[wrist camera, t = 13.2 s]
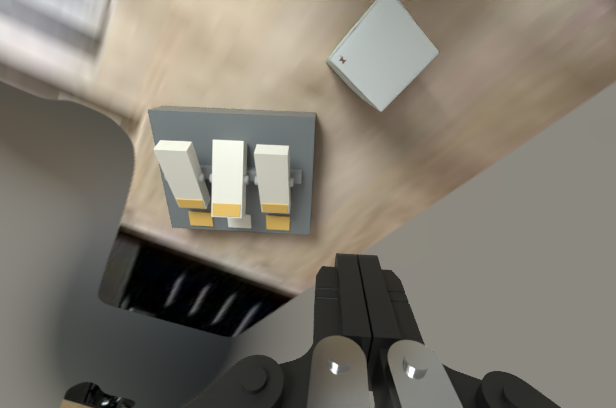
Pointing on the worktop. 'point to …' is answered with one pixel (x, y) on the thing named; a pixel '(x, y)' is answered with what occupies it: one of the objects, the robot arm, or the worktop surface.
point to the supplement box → (382, 53)
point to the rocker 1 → (183, 173)
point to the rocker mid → (229, 178)
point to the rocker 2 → (273, 178)
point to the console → (253, 130)
